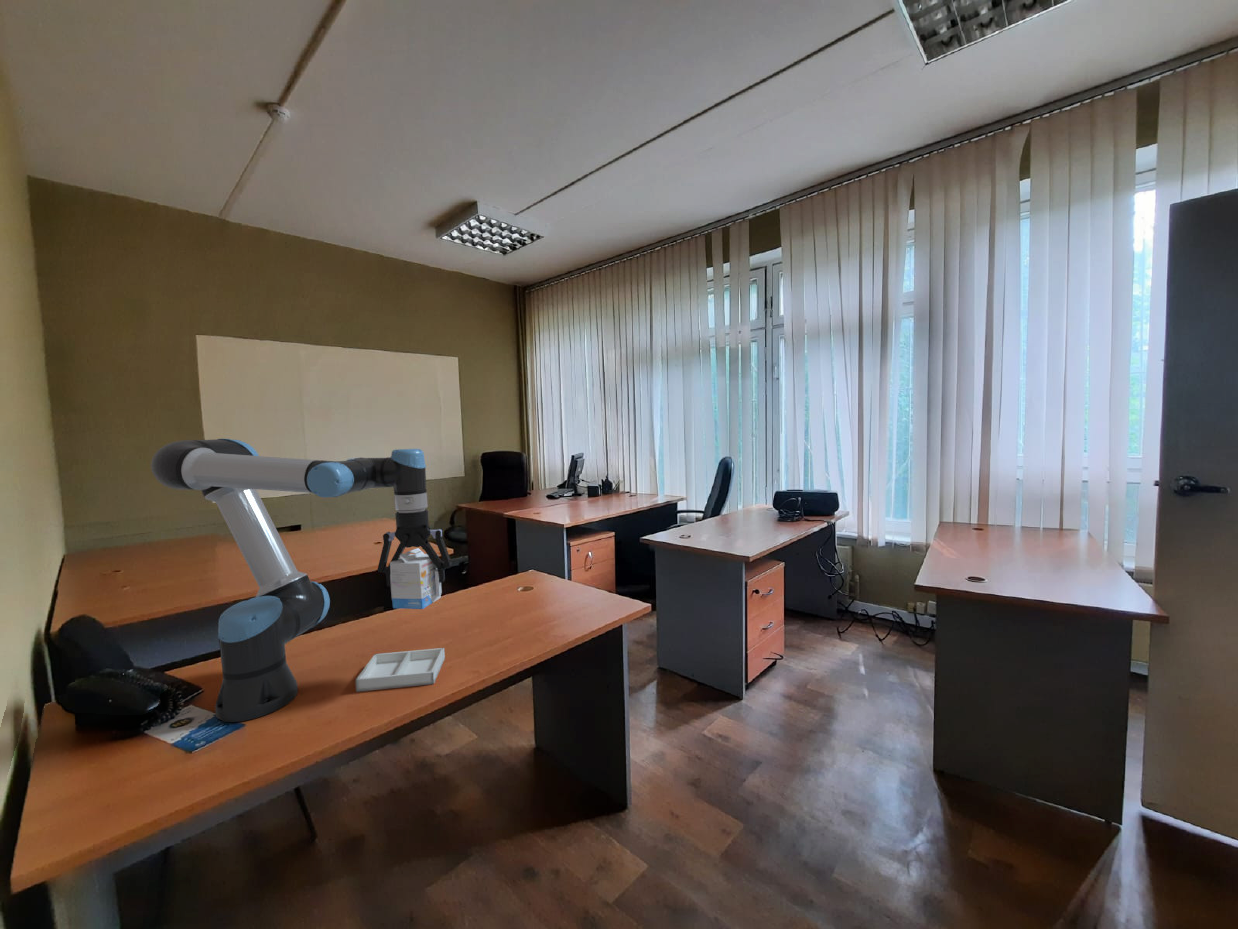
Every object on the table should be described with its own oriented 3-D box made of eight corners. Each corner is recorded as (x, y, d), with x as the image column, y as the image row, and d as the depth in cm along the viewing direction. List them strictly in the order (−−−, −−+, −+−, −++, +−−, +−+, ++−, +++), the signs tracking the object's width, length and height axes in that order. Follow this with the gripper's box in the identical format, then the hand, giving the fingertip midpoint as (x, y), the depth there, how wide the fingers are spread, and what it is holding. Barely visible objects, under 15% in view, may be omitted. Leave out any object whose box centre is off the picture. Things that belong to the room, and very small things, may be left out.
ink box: (422, 610, 116) (418, 556, 115) (391, 608, 118) (388, 555, 116) (441, 597, 124) (438, 547, 123) (413, 596, 126) (410, 546, 125)
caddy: (356, 691, 114) (355, 680, 114) (375, 665, 127) (374, 654, 127) (433, 684, 117) (433, 672, 116) (444, 658, 130) (444, 647, 129)
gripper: (357, 515, 114) (364, 605, 115) (455, 510, 117) (460, 597, 119) (369, 510, 121) (375, 594, 123) (460, 505, 124) (465, 588, 126)
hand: (417, 596), depth 121 cm, fingers closed on ink box, 10 cm apart
